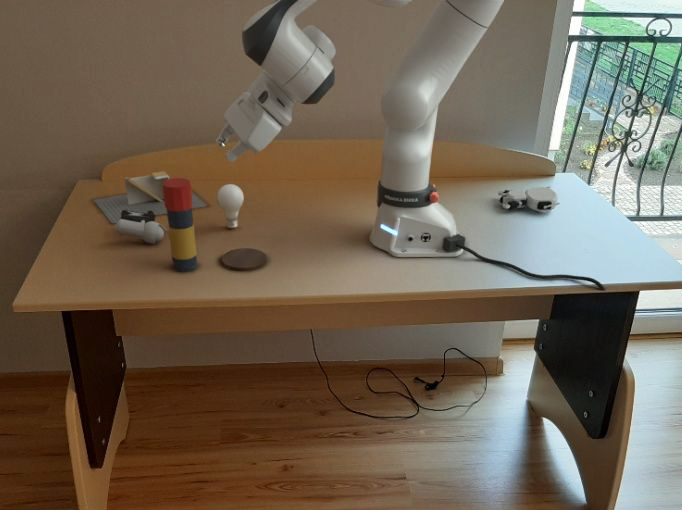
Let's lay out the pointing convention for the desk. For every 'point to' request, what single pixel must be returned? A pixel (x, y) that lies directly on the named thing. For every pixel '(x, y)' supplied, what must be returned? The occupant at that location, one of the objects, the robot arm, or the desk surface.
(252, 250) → the coaster
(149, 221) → the clip-on lamp
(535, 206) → the robot toy
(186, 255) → the spray can
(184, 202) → the cap
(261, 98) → the robot arm
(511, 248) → the desk surface
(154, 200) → the model
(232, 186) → the lightbulb
